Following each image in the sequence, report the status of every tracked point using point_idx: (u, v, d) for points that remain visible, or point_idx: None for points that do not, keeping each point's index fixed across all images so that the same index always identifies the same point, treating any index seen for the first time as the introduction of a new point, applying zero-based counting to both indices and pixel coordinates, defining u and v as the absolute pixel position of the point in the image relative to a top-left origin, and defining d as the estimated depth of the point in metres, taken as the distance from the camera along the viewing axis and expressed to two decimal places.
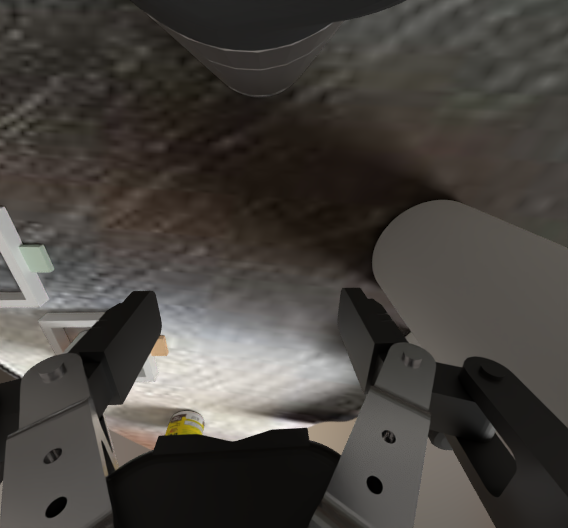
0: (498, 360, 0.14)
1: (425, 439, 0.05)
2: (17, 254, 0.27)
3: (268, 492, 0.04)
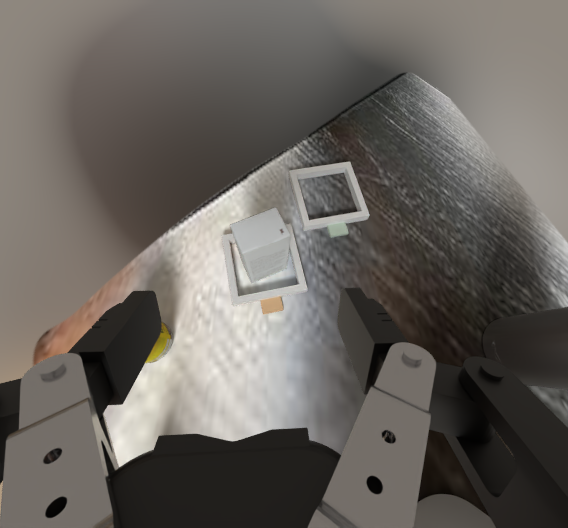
0: None
1: (425, 439, 0.05)
2: (342, 221, 0.43)
3: (268, 492, 0.04)
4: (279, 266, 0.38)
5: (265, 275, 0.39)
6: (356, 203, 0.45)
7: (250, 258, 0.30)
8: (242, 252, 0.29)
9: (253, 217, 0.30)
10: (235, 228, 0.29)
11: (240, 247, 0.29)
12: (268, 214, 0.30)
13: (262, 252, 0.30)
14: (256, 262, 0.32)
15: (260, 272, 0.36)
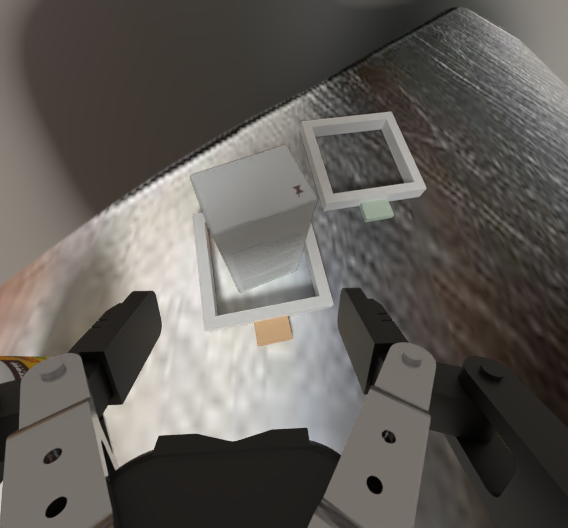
0: None
1: (426, 440, 0.05)
2: (383, 197, 0.27)
3: (268, 492, 0.04)
4: (286, 265, 0.22)
5: (263, 280, 0.23)
6: (403, 172, 0.29)
7: (232, 246, 0.15)
8: (213, 231, 0.13)
9: (239, 162, 0.15)
10: (201, 182, 0.14)
11: (209, 221, 0.13)
12: (270, 157, 0.15)
13: (257, 234, 0.15)
14: (246, 255, 0.17)
15: (253, 275, 0.21)
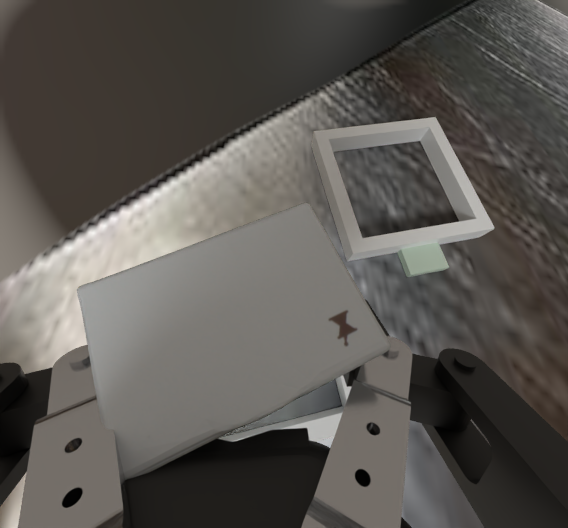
0: None
1: (407, 427, 0.05)
2: (434, 241, 0.19)
3: (268, 492, 0.04)
4: None
5: None
6: (456, 202, 0.21)
7: None
8: None
9: (202, 250, 0.06)
10: (100, 310, 0.06)
11: None
12: (275, 236, 0.06)
13: None
14: None
15: None
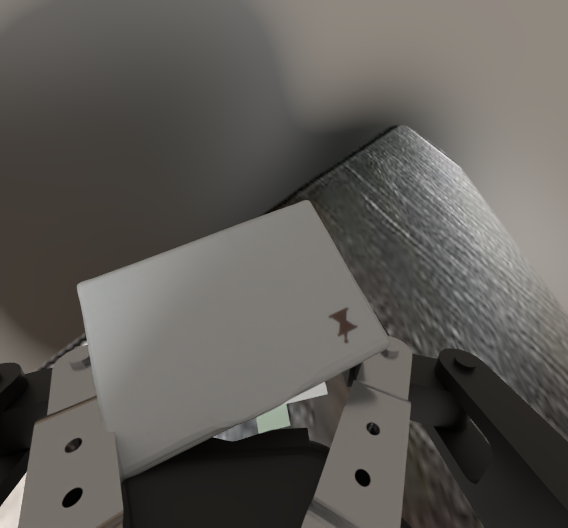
0: None
1: (407, 428, 0.05)
2: None
3: (268, 492, 0.04)
4: None
5: None
6: None
7: None
8: None
9: (202, 247, 0.06)
10: (100, 307, 0.06)
11: None
12: (275, 233, 0.06)
13: None
14: None
15: None
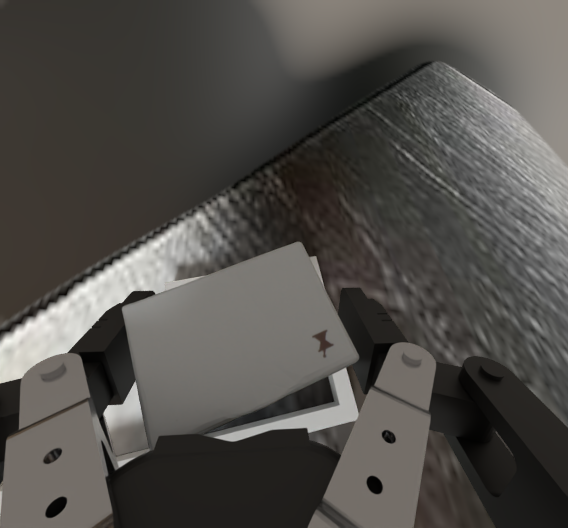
0: None
1: (425, 439, 0.05)
2: None
3: (268, 492, 0.04)
4: None
5: None
6: None
7: None
8: (153, 445, 0.06)
9: (216, 279, 0.08)
10: (140, 325, 0.07)
11: (147, 419, 0.07)
12: (273, 269, 0.08)
13: None
14: None
15: None
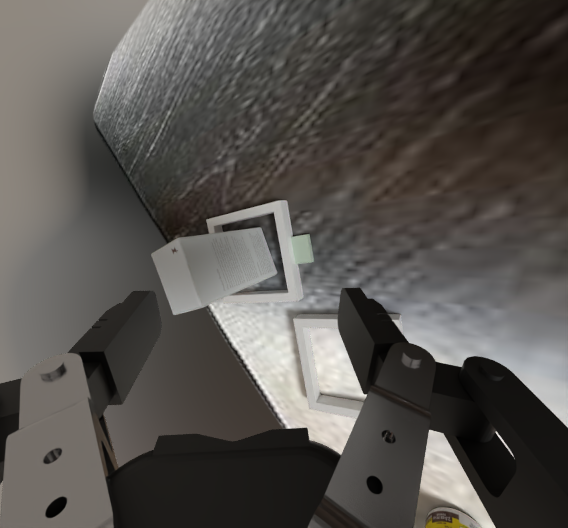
0: None
1: (425, 439, 0.05)
2: (289, 243, 0.28)
3: (268, 492, 0.04)
4: (251, 240, 0.29)
5: (265, 257, 0.30)
6: (262, 215, 0.30)
7: (216, 291, 0.23)
8: (200, 306, 0.21)
9: (163, 284, 0.23)
10: (176, 309, 0.23)
11: (195, 307, 0.21)
12: (158, 265, 0.23)
13: (207, 275, 0.22)
14: (228, 279, 0.24)
15: (254, 267, 0.28)
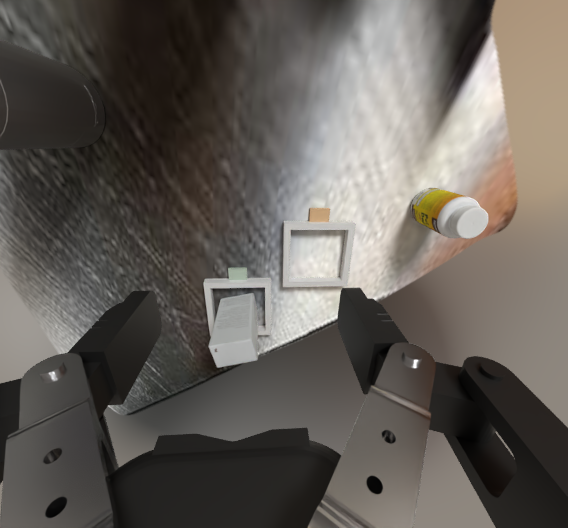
0: None
1: (426, 439, 0.05)
2: (232, 281, 0.44)
3: (268, 492, 0.04)
4: (226, 306, 0.43)
5: (239, 299, 0.45)
6: (212, 296, 0.45)
7: (246, 330, 0.37)
8: (251, 340, 0.35)
9: (237, 362, 0.37)
10: (253, 357, 0.37)
11: (251, 343, 0.36)
12: (224, 363, 0.37)
13: (235, 333, 0.37)
14: (242, 322, 0.39)
15: (243, 306, 0.42)
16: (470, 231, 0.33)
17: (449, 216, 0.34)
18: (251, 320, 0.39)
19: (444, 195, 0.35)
